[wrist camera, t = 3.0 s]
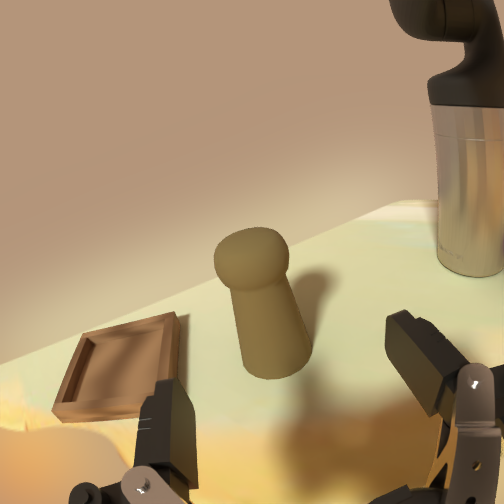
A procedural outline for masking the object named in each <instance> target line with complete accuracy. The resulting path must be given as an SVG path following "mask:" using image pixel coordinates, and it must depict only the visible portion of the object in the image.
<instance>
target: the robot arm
mask: <svg viewBox="0 0 504 504" xmlns="http://www.w3.org/2000/svg"><path fill="white" fill-rule="evenodd" d="M389 1H390V6H391V9H392V12H393V15H394V17H395V19H396V21H397V23H398V24H399V26H400V27H401V28H402V29H403V30H404V31H405V32H406V33H407V34H408V35H410V36H412V37H414V38H417V39H421V40H428V41H446V42H464V49H465V58H464V60H463V61H462V62H461V63H460V64H459V65H458V66H456V67H454V68H452V69H450V70H448V71H446V72H443V73H441V74H438V75H435V76H433V77H431V78H430V79H429V80H428V83H427V88H428V95H429V100H430V103H431V105H430V107H431V114H432V121H433V129H434V137H435V146H436V159H437V172H438V173H437V174H438V207H439V219H438V253H437V255H438V258H439V260H440V262H441V263H442V264H443V265H444V266H445V267H447V268H448V269H450V270H452V271H454V272H456V273H459V274H462V275H466V276H472V277H485V276H491V275H494V274H496V273H498V272H500V271H501V270H502V269H503V268H504V39H503V34H502V30H501V26H500V22H499V17H498V14H497V10H496V7H495V4H494V1H493V0H389ZM385 350H386V354H387V356H388V358H389V360H390V361H391V363H392V364H393V366H394V367H395V368H396V370H397V371H398V373H399V374H400V375H401V377H402V378H403V380H404V381H405V383H406V384H407V385H408V387H409V388H410V390H411V391H412V393H413V394H414V396H415V397H416V398H417V400H418V401H419V403H420V404H421V406H422V407H423V409H424V410H425V412H426V413H427V415H428V416H429V417H431V416H433V415H435V414H436V413H438V412H439V414H440V415H441V417H442V418H441V421H440V427H439V434H438V440H437V446H436V451H435V457H434V461H433V465H432V468H431V470H430V473H429V475H428V478H427V482H426V486H425V488H415V489H409V488H408V486H407V484H406V485H404V486H402V487H400V488H398V489H396V490H394V491H392V492H389V493H387V494H385V495H383V496H380V497H378V498H376V499H374V500H373V501H371V502H370V503H369V504H495V498H496V491H497V484H498V476H499V466H500V454H501V435H502V437H503V439H504V364H503V365H500V366H496V367H493V368H488V367H487V366H485V365H483V364H479V363H470V362H468V360H467V359H466V358H465V357H464V356H463V355H462V354H461V353H460V352H459V351H458V350H457V349H456V348H455V347H454V346H453V344H452V343H451V342H450V341H449V340H448V339H446V338H445V336H444V335H443V334H442V333H441V332H439V330H438V329H437V328H436V327H435V326H434V325H433V324H432V323H431V322H429V321H427V320H425V319H423V318H421V317H419V318H417V319H415V318H414V317H413V316H412V315H411V314H410V313H409V312H408V311H407V310H402V311H399V312H397V313H394V314H392V315H389V316H387V318H386V332H385ZM139 420H140V421H139V423H138V431H137V439H136V448H135V458H134V466H133V468H132V469H130V470H129V471H127V472H126V473H125V475H124V476H123V478H122V481H120V482H118V483H115V484H112V485H109V486H105V487H102V488H98V487H97V486H95V485H94V484H92V483H88V482H85V483H81V484H79V485H77V486H75V487H74V488H73V489H72V491H71V493H70V497H69V504H194V503H193V502H192V501H191V500H190V499H189V490H190V489H199V486H198V469H197V449H196V421H195V411H194V407H193V404H192V402H191V400H190V399H189V397H188V395H187V394H186V392H185V390H184V389H183V387H182V385H181V383H180V382H179V380H178V379H177V378H176V377H174V378H169V379H164V380H158V381H156V383H155V390H154V395H152V396H147V397H146V399H145V401H144V402H143V404H142V406H141V408H140V416H139Z"/></svg>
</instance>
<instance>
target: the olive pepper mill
mask: <svg viewBox="0 0 504 504" xmlns="http://www.w3.org/2000/svg"><path fill="white" fill-rule="evenodd" d="M214 265H215V270H216V273H217V275H218V277H219V278H220V280H221V281H222V283H223V284H224V285H225V286H227V287H228V288H230V292H231V298H232V304H233V310H234V315H235V321H236V327H237V333H238V338H239V344H240V349H241V355H242V360H243V365H244V367H245V369H246V370H247V371H248V372H249V373H250V374H252V375H254V376H255V377H258V378H262V379H267V380H268V379H280V378H284V377H287V376H291V375H292V374H294V373H296V372H297V371H299V370H301V369H302V368H303V367H304V365H305V364H306V363H307V362H308V360H309V358H310V356H311V354H312V346H311V343H310V340H309V337H308V334H307V332H306V329H305V326H304V323H303V320H302V318H301V315H300V312H299V309H298V307H297V304H296V301H295V298H294V296H293V293H292V290H291V288H290V285H289V282H288V279H287V277H286V274H285V273H286V271H287V270H288V265H289V250H288V246H287V244H286V242H285V240H284V239H283V237H282V236H281V235H280V234H279V233H278V232H277V231H275V230H272V229H269V228H263V227H254V228H248V229H244V230H241V231H238V232H235V233H233V234H231V235H229V236H227V237H226V238H225V239H223V240H222V241H221V242H220V243H219V244H218V246H217V248H216V250H215V253H214Z"/></svg>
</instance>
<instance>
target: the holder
mask: <svg viewBox="0 0 504 504" xmlns="http://www.w3.org/2000/svg"><path fill="white" fill-rule="evenodd" d="M179 335H180V323H179V320H178V318H177V316H176V314H175V312H174V311H173V312H170V313H166V314H162V315H158V316H154V317H150V318H146V319H142V320H138V321H134V322H129V323H125V324H121V325H117V326H113V327H108V328H104V329H100V330H96V331H91V332H87V333H83V334H82V336H81V338H80V341H79V343H78V345H77V347H76V350H75V352H74V354H73V357H72V359H71V361H70V364H69V366H68V369H67V371H66V374H65V376H64V379H63V381H62V384H61V386H60V389H59V391H58V394H57V397H56V399H55V402H54V405H53V408H52V410H51V411H52V412H53V414H54V415H55V416H56V417H57V418H58V419H59V420H60V421H61V422H62V423H75V422H94V421H108V420H119V419H129V418H138V417H139V416H140V408H141V406H142V404H143V402H144V401H145V399H146V397H147V396H152V395H154V390H155V383H156V381H158V380H164V379H169V378H174V377H176V378H177V368H178V350H179Z"/></svg>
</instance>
